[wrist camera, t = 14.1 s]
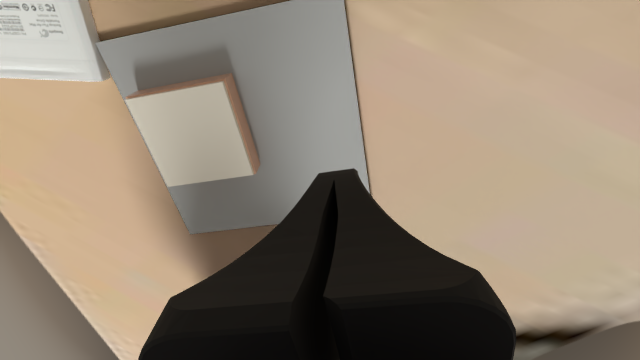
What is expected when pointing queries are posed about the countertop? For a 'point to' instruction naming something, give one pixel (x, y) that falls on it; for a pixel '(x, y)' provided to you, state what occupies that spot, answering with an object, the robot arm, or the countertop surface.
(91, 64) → the external hard drive
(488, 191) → the countertop surface
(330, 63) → the mat
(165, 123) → the tile
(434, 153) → the countertop surface
